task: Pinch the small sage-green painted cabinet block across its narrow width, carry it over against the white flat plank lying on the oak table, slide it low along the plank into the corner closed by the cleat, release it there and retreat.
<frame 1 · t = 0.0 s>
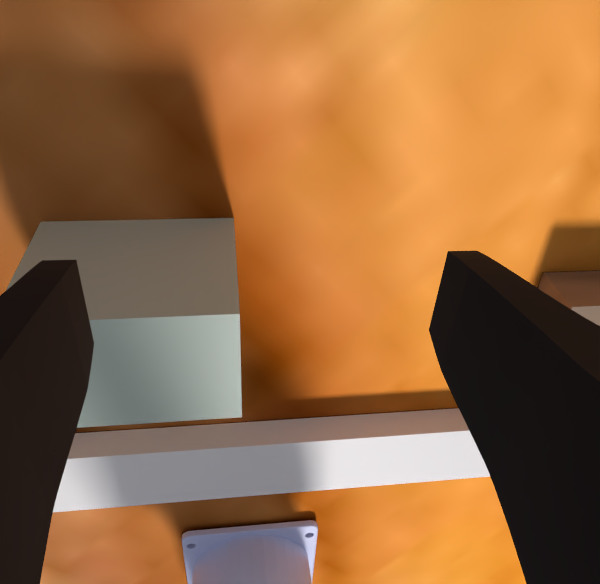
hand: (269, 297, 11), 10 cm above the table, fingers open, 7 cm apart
cabinet block: (146, 268, 22), on the table
white flat plank: (287, 445, 30), on the table
cleat: (555, 343, 28), on the table
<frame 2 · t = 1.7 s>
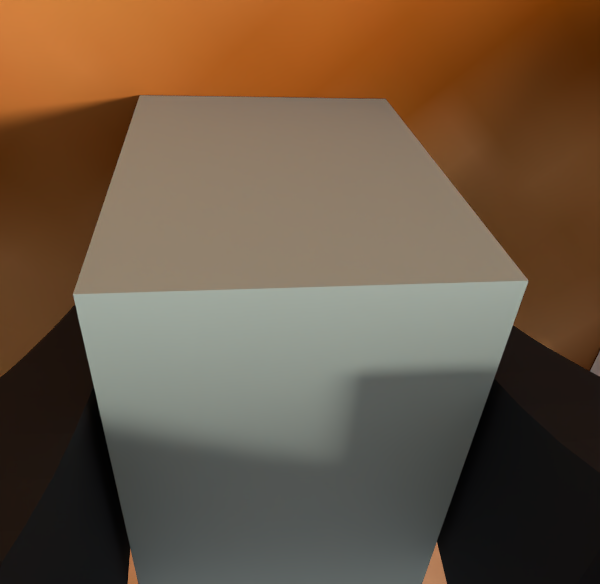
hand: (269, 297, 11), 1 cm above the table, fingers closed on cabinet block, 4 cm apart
cabinet block: (263, 258, 12), on the table, touching gripper
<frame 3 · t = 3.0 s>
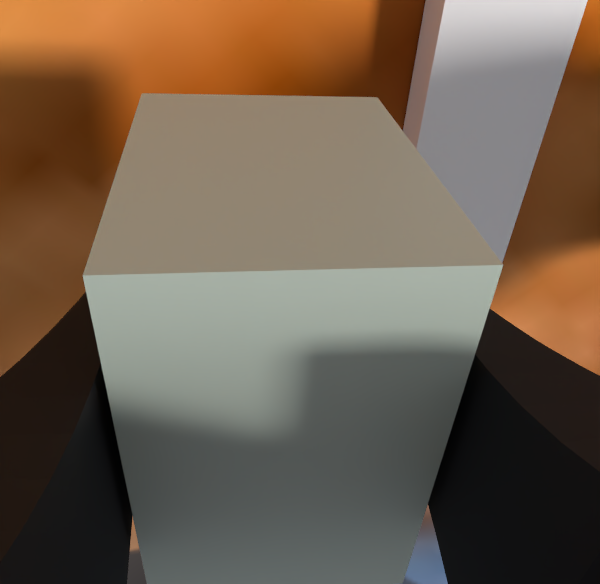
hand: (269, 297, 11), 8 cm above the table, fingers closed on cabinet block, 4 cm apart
cabinet block: (260, 251, 13), point 6 cm above the table, touching gripper
white flat plank: (476, 68, 17), on the table
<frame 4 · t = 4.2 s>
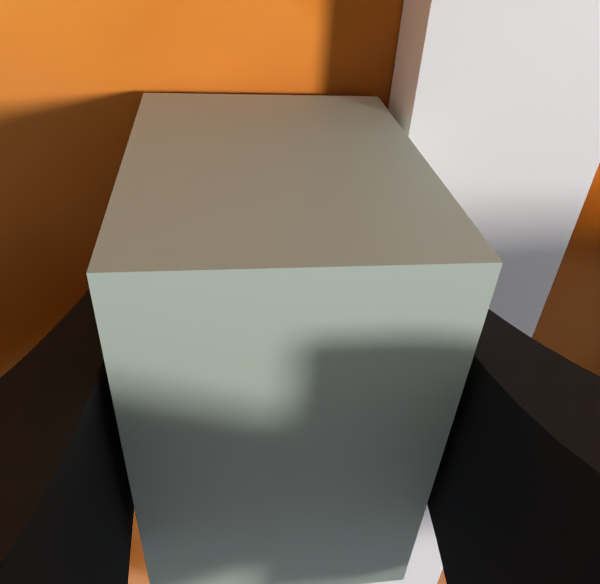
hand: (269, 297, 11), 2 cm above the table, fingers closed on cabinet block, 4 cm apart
cabinet block: (261, 249, 13), on the table, touching gripper
white flat plank: (448, 246, 14), on the table
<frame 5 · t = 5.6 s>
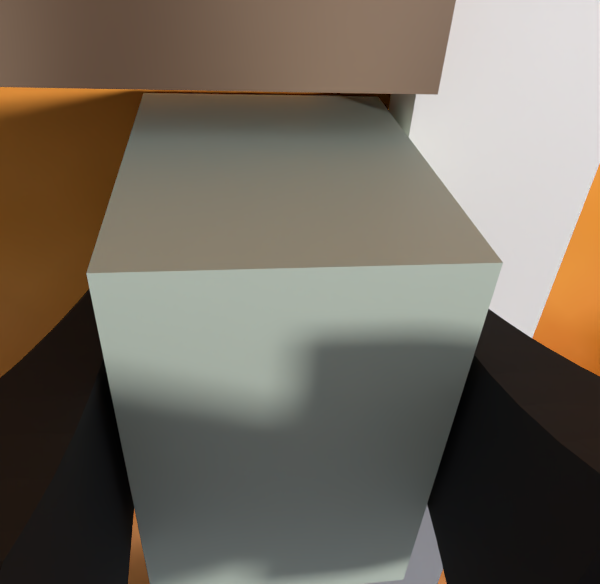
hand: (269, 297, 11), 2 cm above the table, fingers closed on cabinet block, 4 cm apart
cabinet block: (261, 249, 13), on the table, touching gripper
white flat plank: (404, 428, 18), on the table
when the fingers open (2 cm above the table, at t = 6.8 s): cabinet block stays where it is, on the table.
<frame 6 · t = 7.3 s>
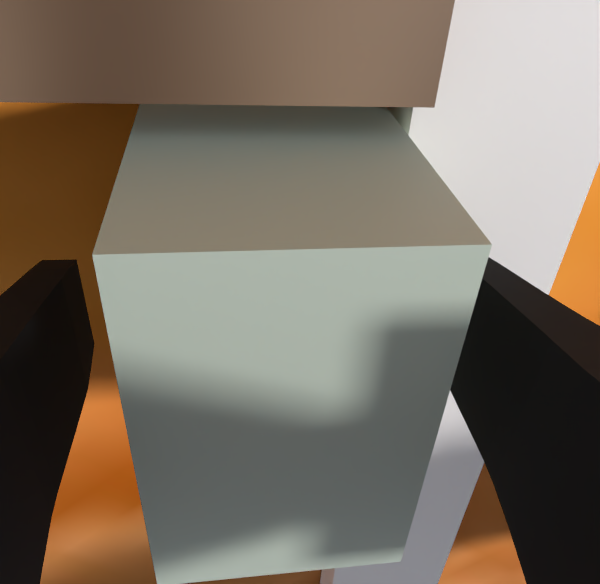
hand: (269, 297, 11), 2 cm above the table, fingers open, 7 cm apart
cabinet block: (260, 242, 13), on the table
white flat plank: (403, 432, 18), on the table
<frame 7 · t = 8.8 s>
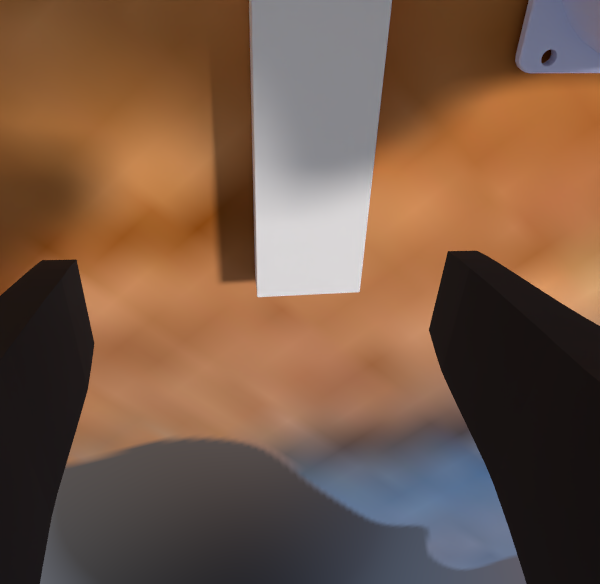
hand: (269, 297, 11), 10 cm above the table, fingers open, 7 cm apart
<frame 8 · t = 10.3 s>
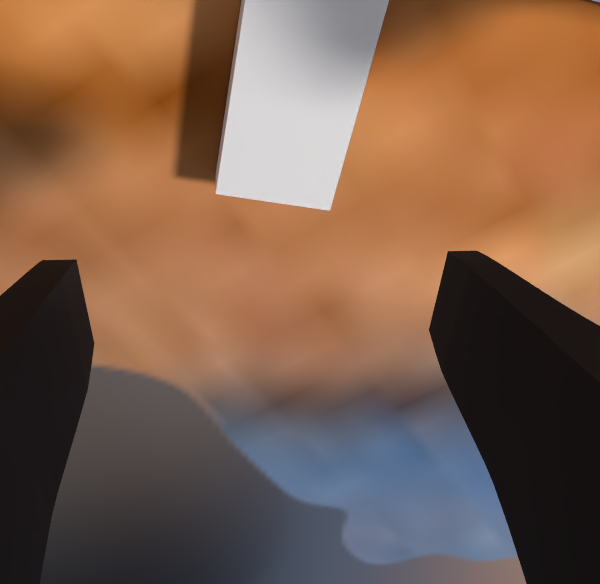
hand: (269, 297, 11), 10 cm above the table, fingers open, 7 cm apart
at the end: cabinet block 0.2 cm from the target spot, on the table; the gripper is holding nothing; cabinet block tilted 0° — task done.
